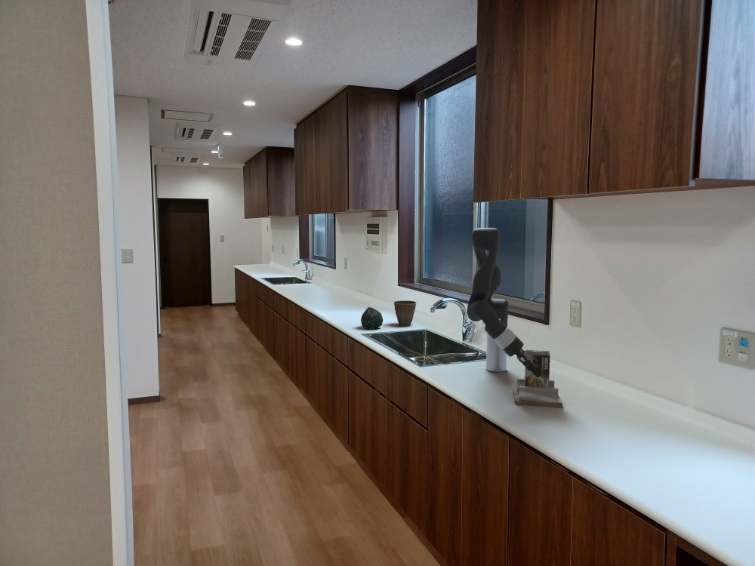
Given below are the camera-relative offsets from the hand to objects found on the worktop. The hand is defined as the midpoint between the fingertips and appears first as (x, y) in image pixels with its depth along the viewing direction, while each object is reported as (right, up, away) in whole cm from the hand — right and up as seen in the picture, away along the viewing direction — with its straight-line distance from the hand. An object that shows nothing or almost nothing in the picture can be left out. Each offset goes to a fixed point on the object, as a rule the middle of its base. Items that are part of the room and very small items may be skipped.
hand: (538, 373), depth 200 cm
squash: (-66, +5, +142) cm, 157 cm away
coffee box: (-1, -8, +1) cm, 8 cm away
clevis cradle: (0, -11, +1) cm, 11 cm away
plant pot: (-43, +6, +151) cm, 157 cm away
